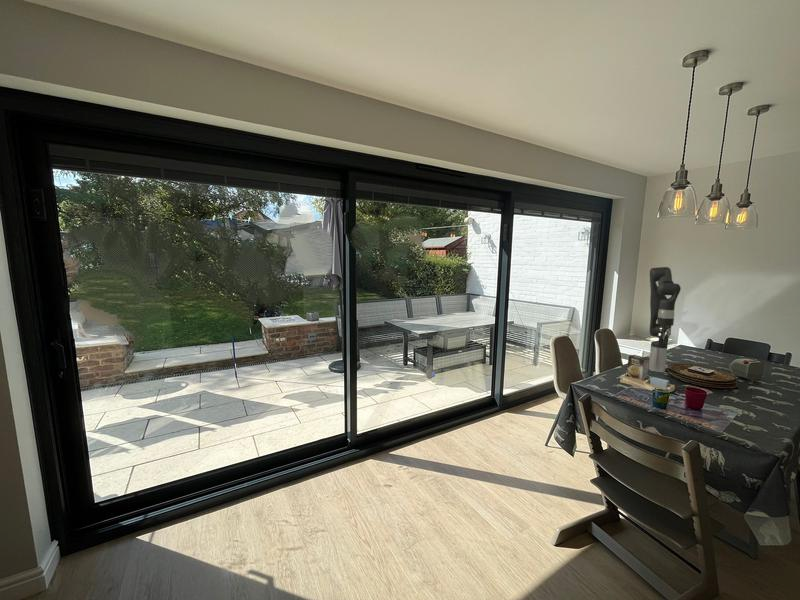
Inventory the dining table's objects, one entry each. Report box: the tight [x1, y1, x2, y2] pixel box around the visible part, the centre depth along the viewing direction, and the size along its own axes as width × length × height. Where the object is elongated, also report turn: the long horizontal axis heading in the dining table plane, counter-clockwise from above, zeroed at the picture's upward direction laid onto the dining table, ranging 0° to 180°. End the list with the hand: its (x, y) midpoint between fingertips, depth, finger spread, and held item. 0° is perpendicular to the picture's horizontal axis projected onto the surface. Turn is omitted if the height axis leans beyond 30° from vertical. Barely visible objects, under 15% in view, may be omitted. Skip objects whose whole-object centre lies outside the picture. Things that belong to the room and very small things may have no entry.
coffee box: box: [626, 354, 650, 381], centre depth 209 cm, size 9×6×16 cm
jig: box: [619, 372, 676, 393], centre depth 205 cm, size 13×25×4 cm, turn 36°
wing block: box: [650, 376, 670, 388], centre depth 200 cm, size 4×8×5 cm, turn 37°
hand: (663, 343), depth 197 cm, fingers open, 8 cm apart
